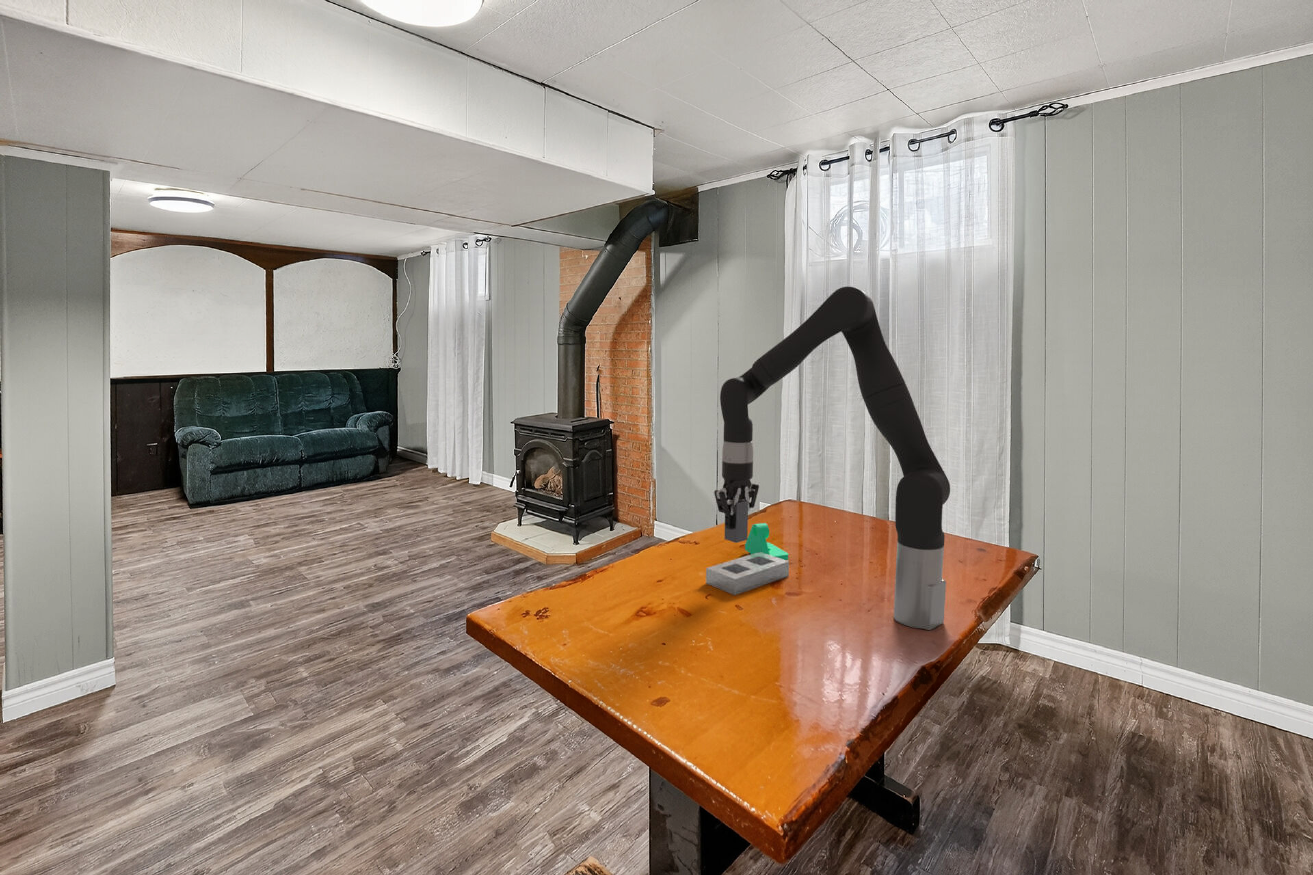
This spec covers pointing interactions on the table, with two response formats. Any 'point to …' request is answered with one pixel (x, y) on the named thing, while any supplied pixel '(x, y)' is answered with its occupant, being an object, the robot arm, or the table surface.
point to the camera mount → (762, 542)
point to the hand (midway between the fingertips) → (736, 526)
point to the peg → (738, 523)
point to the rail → (747, 572)
